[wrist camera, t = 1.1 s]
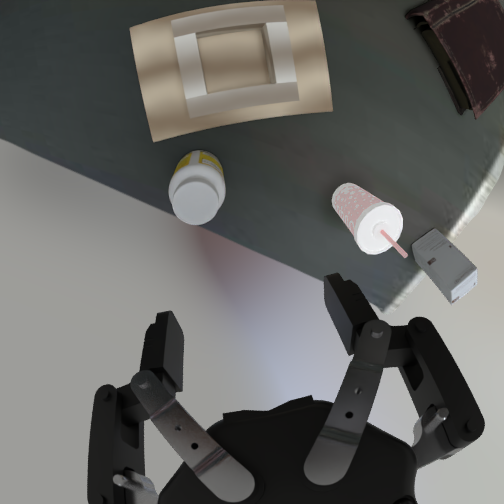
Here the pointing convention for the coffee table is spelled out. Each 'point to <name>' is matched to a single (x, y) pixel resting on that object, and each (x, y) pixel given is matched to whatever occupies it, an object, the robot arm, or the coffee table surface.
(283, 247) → the coffee table surface
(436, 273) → the skincare box
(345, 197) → the beverage cup
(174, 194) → the supplement bottle
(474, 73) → the diary
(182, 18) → the socket board
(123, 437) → the robot arm
